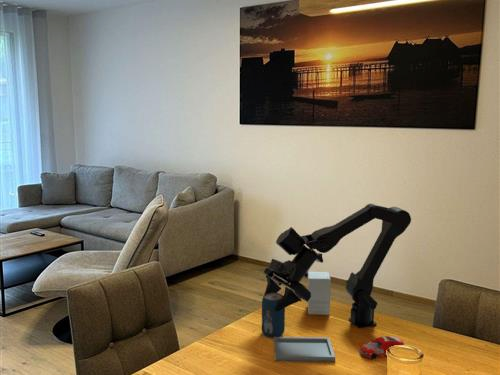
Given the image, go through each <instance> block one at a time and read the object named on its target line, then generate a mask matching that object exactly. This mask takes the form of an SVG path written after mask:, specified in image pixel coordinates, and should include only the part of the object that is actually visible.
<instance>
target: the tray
mask: <svg viewBox="0 0 500 375" xmlns="http://www.w3.org/2000/svg"><path fill="white" fill-rule="evenodd" d="M332 345H333V344H332V343H331V340H330V337H325V336H324V337H323V336H322V337H321V336H320V337H319V336H316V337H315V336H313V337H312V336H311V337H310V336H308V337H307V336H281V337H274V338H273V350H274V359H275V360H274V361H275V362H283V363H284V362H285V363H286V362H290V363H291V362H292V363H293V362H295V363H296V362H299V363H301V362H302V363H305V362H306V363H307V362H308V363H336V355H335V351H334V349H333V346H332Z"/></svg>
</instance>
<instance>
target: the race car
mask: <svg viewBox="0 0 500 375" xmlns="http://www.w3.org/2000/svg"><path fill="white" fill-rule="evenodd" d="M370 340H371V341H369V342H366V343H363V344H361V345H360V348H359V353H360V355H361V356H363V357H365V358H368V359H371V360H376V359H378V358H384V357H387V356H386V350H387V349H388V348H389V347H391V346H394V345H404V346H405V343H404V341H403V340H402V339H400V338H398V337H397V336H396V337H395V336H390V335H388V336H379V337H377V338H374V339H373V338H372V339H370Z"/></svg>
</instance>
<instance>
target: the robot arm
mask: <svg viewBox="0 0 500 375" xmlns="http://www.w3.org/2000/svg"><path fill="white" fill-rule="evenodd" d="M374 219H377V220H381V229H380V230H381V231H380V233H379V235H378V236H377V238H376V240H375V242H374V244H373V246H372V248H371V249H370V251H369V253H368V255H367V257H366V259H365V261H364V263H363V265H362V267H361V268H360V270H359V271H357V272H356V273H354V272H352V271H351V272H350V274H349V277H348V279H347V280H346V281H345V283H346V285H345V291H346V293H347V295H348V297H349V296H350V298H351V300H352V301H353V302H352V304H351V308H350V317H349V318H348V321H350V322H351V323H352V324H354V325H355V326H356V327H358V328H360V329H361V328H366V327H372V326H377V322H376V321H375V320H374V319H375V310H376V308H377V306H378V302H377V301H376V300H375V299H374V298H373V296H371V295H372V292H373V290H374V279H375V277H376V275H377V273H378V272H379V270H380V268H381V267H382V264H383V263H384V260H385V258H386V256H387V255H388V253H389V251H390V249H391V247H392V245H393V244H394V242H395V240H396V239H397V238H398V237H400V236H401V235H402V234H403V233H404V232H405V231H406V229H407V228H408V227H409V226H410V224H411V222H412V216H411V214H410V213H409V212H408V211H407V210H404V209H402V208H400V207H398V206H391V207H385V206H382V205H381V206H380V205H377V204H375V203H368V204H366V205H365V206H364V207H363V208H360V209H359V210H357V211H356V212H354V213H352V214H350V215H349V216H347V217H346V218H344V219H342V220H340V221H339V222H337V223H336V224H333V225H330V226H325V227H322V228H318V229H317V230H314V231H313V232H312V233H311V234H305V235H300V234H299V233H298V232H297V231H296V230H295V229H294V228H293V227H291V226H290V227H289V228H288V229H286V230H284V231H283V232H281V233H280V234H279V235H278V236H277V238H276V241H275V244H277V245H278V247H280V248H281V249H282V250H283V251H284V252H285V253H286V254H288V255H289V256H292V255H293V256H294V257H293V259H292V260H289V259H288V260H286V261H284V262H283V261H281V260H278V259H275V258H271V260H270V263H269V265H268V267H266V268H265V269H264V270H263V274H264V275H265V278H266V282H267V283H266V288H265V291H264V293H263V297H262V299H261V301H262V300H263V298H264V295H265V294H267V293H279V292H280V291H281V290H282V287H280V286H281V285H283V286H285V287H284V294H282V295H283V297H282V298H281V300H280V301H279V303H278V304H277V306H276V308H275V310H276V311H277V312H278V311H280V310H282V309H284V308H285V309H286V308H287V307H290V306H291V305H293V304H296V303H298V302H302V301H305V302H306V303H307V302H308V301H309V299H310V298H311V292H310V291H309V290H308V287H306V286H305V285H304V284H302V283H301V282H302V280H303V278H307V279H308V271H310V269H311V267H312V266H313V265H314V263H316V262H317V263H322V264H323V263H324V259H323V258H324V257H323V254H325V253H326V254H327V253H328V252H330V251H331V250H332V249H333V248H334V247H336V246H337V245H338V243H339V242H340V241H341V240H342V239H343V238H344V237H346V236H347V235H349V234H350V233H352V232H354V231H356V230H358V229H359V228H361V227H363V226H364V225H366V224H368V223H370V222H371V221H373V220H374Z"/></svg>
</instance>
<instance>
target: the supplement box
mask: <svg viewBox="0 0 500 375" xmlns="http://www.w3.org/2000/svg"><path fill="white" fill-rule="evenodd" d="M307 274H308V276H307V289H308V290H309V291H310V292H311V298H310V299H309V301H308V302H306V304H307V312H308V313H307V314H308V315H318V316H319V315H322V316H323V315H324V316H326V315H327V316H330V315H331V314H330V313H331V286H332V284H331V282H332V279H331V277H330V272H329V271H310V270H308V272H307Z"/></svg>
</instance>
